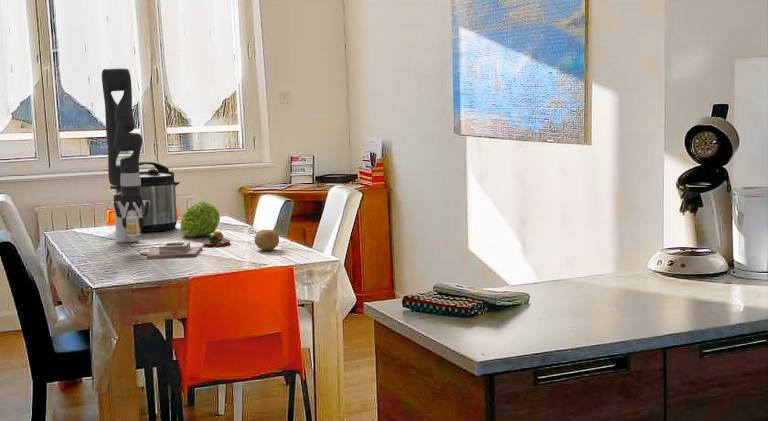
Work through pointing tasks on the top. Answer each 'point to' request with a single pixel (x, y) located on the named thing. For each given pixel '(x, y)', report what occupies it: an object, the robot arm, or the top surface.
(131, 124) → the robot arm
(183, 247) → the brown board with frame
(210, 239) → the floral bowl
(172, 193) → the pressure cooker
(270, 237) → the potato
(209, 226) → the lettuce
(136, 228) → the supplement bottle
